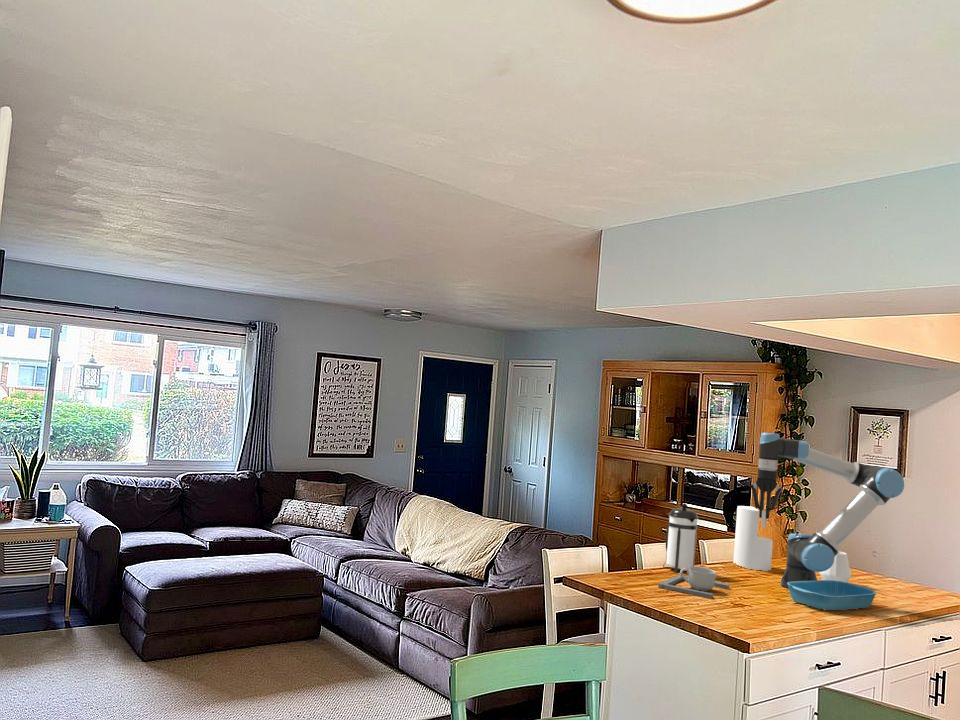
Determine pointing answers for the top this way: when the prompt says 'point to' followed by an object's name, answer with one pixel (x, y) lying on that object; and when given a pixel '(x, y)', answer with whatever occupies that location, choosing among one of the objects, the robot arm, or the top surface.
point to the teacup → (700, 578)
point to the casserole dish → (831, 594)
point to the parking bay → (669, 585)
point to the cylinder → (751, 541)
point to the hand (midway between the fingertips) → (763, 526)
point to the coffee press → (681, 538)
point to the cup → (838, 569)
